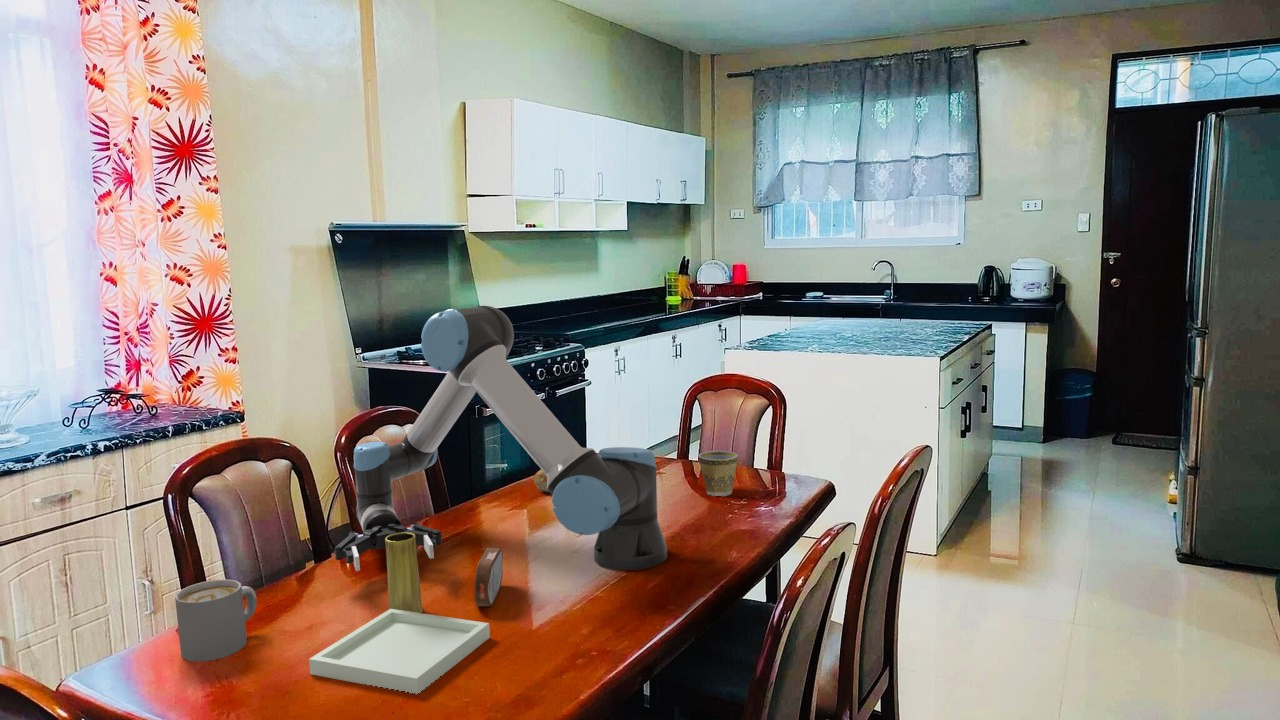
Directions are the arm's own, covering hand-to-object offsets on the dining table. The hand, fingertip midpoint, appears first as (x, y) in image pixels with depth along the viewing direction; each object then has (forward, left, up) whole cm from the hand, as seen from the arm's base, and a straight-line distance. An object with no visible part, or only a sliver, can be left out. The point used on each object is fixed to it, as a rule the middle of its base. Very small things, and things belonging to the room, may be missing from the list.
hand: (395, 557), depth 168 cm
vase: (-7, +6, -8) cm, 12 cm away
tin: (-18, -5, -8) cm, 20 cm away
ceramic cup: (-38, -84, -8) cm, 92 cm away
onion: (+5, -72, -8) cm, 72 cm away
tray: (-17, +20, -7) cm, 27 cm away
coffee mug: (+15, +26, -8) cm, 32 cm away
